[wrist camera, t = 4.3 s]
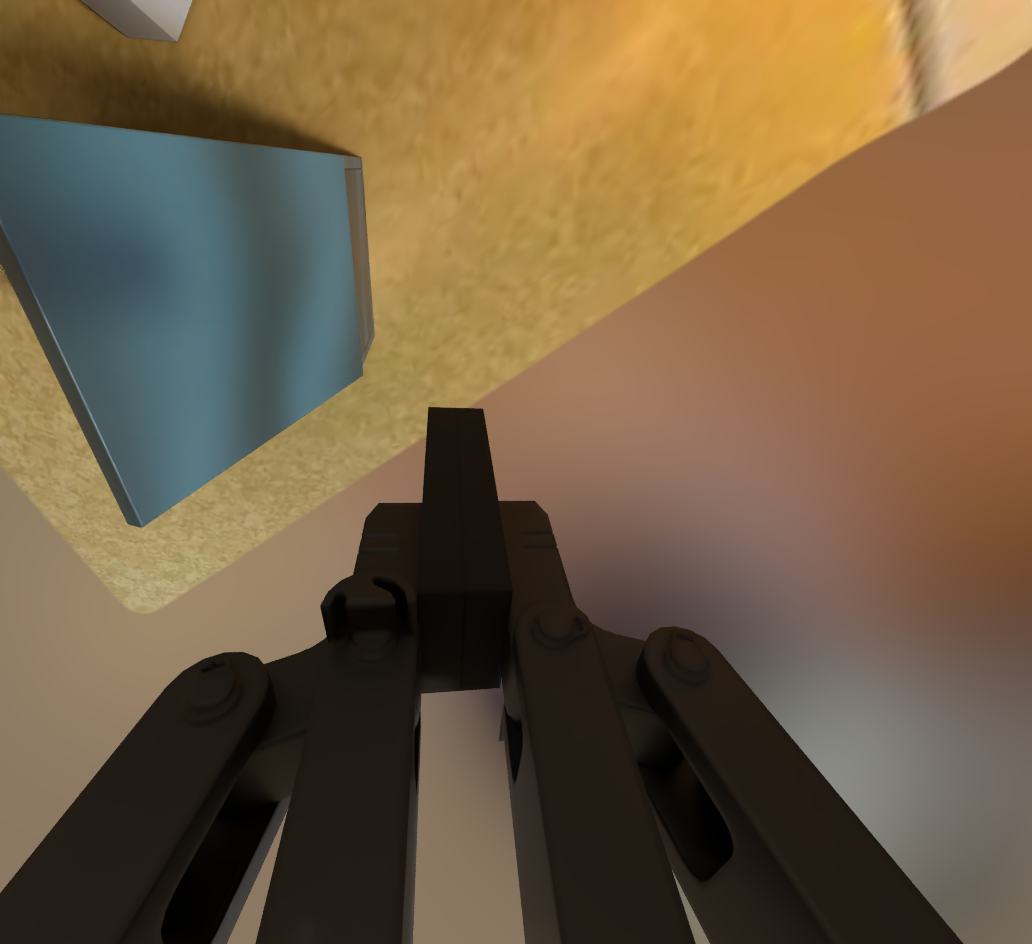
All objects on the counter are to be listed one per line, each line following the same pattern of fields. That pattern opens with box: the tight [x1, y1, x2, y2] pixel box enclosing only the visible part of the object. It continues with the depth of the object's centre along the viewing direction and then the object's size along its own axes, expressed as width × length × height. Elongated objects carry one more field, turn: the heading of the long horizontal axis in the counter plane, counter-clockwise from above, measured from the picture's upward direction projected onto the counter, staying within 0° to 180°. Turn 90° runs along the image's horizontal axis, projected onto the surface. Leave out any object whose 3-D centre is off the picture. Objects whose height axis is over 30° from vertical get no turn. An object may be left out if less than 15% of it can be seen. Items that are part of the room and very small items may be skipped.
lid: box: [0, 113, 363, 527], centre depth 22 cm, size 18×13×1 cm
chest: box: [343, 155, 375, 366], centre depth 32 cm, size 17×13×9 cm
